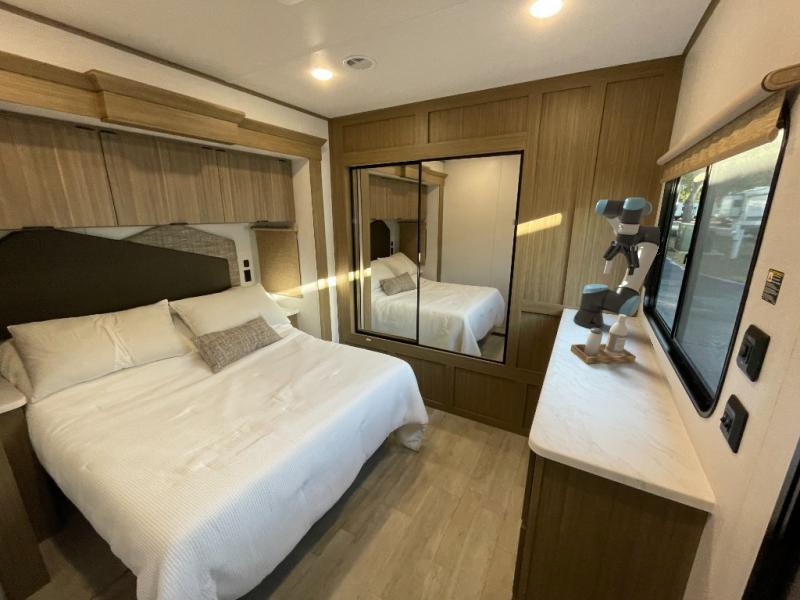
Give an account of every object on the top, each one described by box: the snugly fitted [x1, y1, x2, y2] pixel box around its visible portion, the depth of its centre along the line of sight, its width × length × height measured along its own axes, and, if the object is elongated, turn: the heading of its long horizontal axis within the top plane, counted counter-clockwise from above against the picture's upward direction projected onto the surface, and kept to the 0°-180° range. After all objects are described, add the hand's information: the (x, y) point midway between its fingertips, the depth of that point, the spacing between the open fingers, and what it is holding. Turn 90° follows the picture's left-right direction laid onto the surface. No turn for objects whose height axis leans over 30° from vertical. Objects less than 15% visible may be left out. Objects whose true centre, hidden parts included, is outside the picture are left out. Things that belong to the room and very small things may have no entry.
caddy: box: [570, 343, 637, 365], centre depth 152 cm, size 23×13×3 cm, turn 94°
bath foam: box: [604, 314, 629, 356], centre depth 150 cm, size 7×7×20 cm
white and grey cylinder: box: [584, 328, 604, 357], centre depth 150 cm, size 6×6×13 cm
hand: (616, 277), depth 157 cm, fingers open, 13 cm apart
